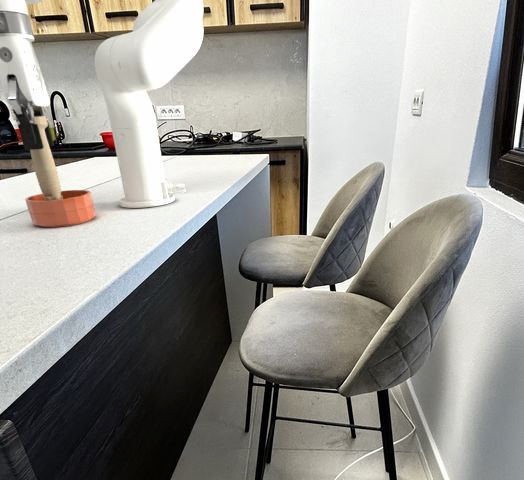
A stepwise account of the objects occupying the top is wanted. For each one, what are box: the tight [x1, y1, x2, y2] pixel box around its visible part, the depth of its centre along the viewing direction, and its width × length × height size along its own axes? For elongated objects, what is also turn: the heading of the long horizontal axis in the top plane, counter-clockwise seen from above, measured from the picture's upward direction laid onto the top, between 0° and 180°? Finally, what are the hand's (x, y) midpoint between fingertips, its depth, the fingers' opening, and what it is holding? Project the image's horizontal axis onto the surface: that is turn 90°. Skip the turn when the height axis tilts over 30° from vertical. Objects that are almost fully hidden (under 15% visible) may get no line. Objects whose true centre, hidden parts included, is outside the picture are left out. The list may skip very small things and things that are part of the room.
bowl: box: [24, 189, 97, 228], centre depth 86 cm, size 12×12×5 cm
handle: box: [29, 115, 63, 201], centre depth 82 cm, size 5×6×15 cm
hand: (40, 147), depth 80 cm, fingers closed on handle, 6 cm apart
